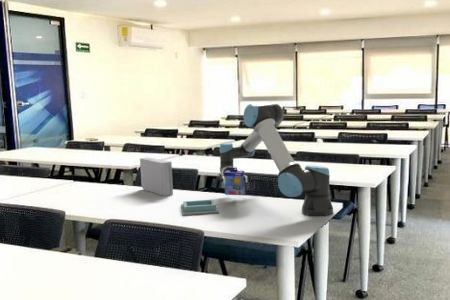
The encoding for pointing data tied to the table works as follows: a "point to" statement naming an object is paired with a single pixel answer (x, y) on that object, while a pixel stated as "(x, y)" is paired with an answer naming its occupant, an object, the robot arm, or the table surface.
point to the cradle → (199, 207)
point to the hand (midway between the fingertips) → (235, 180)
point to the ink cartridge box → (234, 182)
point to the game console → (156, 176)
